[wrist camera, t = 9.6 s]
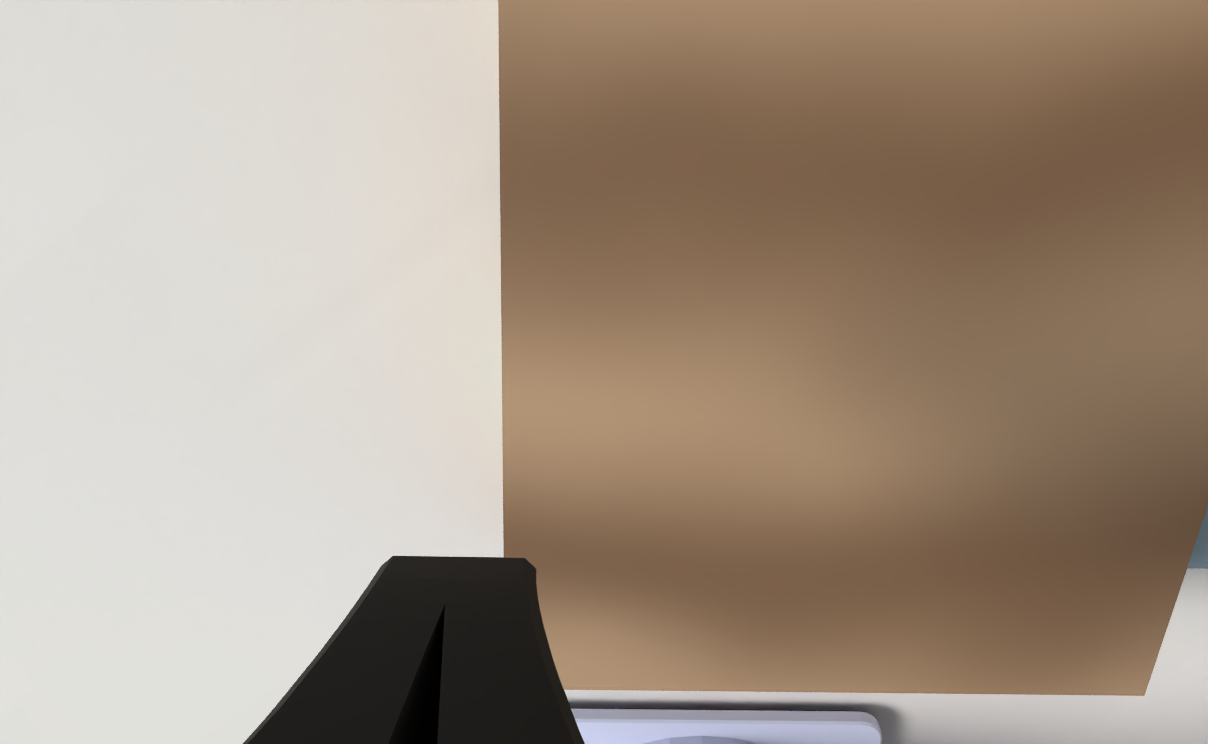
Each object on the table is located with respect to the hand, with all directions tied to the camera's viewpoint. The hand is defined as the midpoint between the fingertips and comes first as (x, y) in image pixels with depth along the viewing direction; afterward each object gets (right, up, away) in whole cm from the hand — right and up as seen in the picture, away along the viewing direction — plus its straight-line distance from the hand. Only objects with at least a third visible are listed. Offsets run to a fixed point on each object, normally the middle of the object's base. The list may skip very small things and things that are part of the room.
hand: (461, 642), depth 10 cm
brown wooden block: (+5, +7, +8) cm, 12 cm away
